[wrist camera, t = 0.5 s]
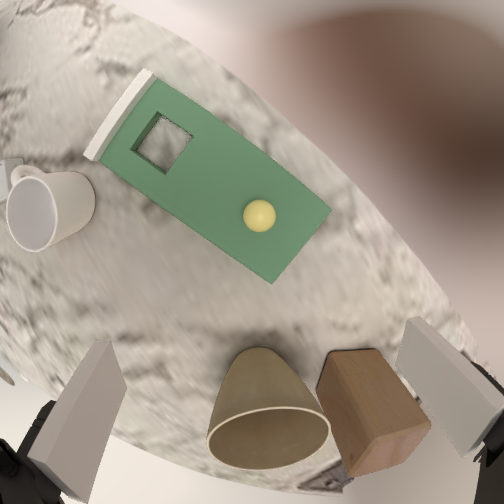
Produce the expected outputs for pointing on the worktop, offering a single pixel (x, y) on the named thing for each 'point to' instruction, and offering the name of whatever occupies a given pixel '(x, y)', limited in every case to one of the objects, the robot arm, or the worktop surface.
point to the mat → (209, 177)
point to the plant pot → (265, 415)
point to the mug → (47, 206)
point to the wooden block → (369, 411)
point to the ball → (259, 215)
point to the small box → (7, 176)
